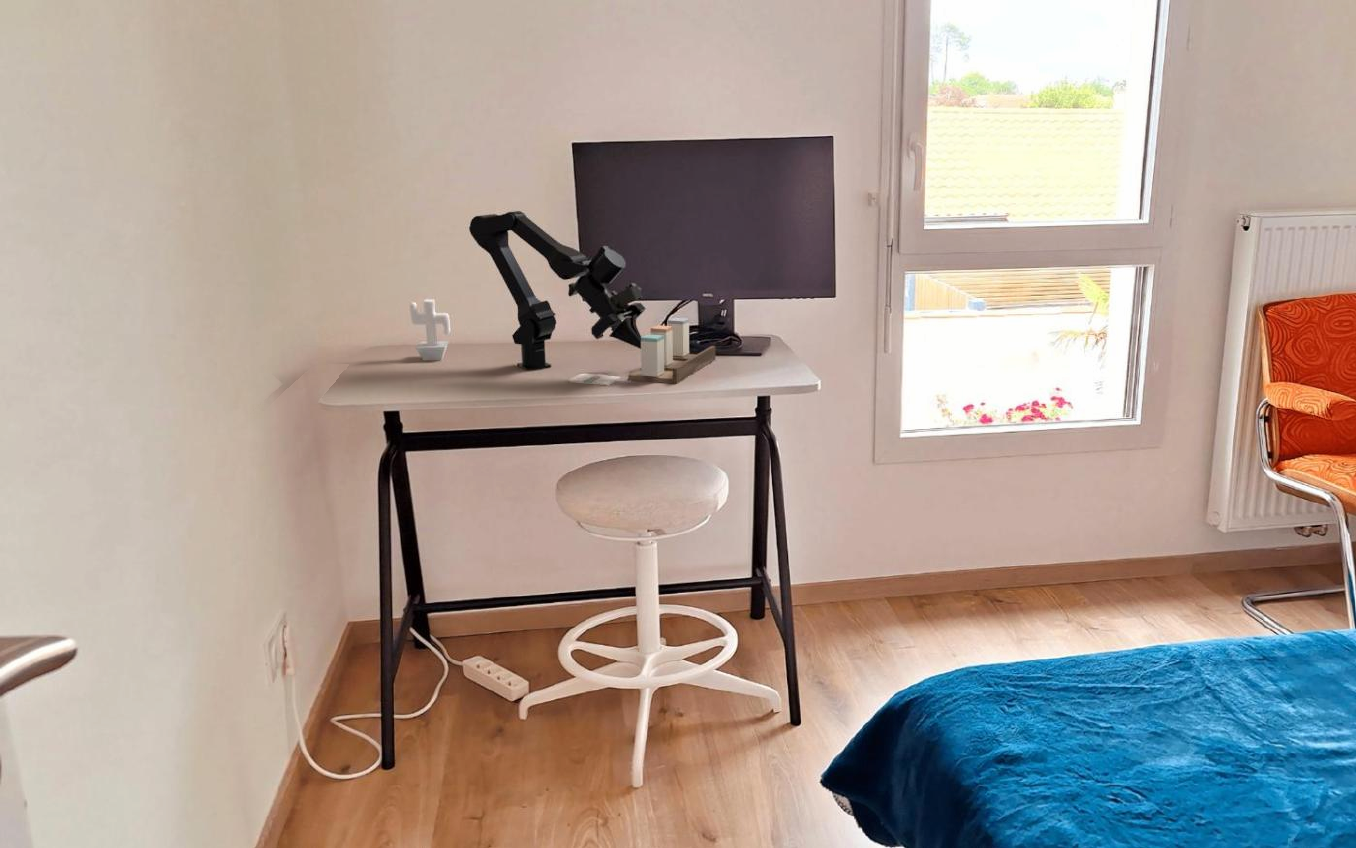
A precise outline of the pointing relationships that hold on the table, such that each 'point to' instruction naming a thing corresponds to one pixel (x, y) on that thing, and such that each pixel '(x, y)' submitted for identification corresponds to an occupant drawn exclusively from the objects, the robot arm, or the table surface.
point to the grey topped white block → (680, 336)
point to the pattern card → (594, 379)
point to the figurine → (430, 330)
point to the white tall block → (652, 355)
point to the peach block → (665, 341)
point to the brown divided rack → (679, 367)
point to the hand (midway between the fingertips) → (643, 347)
